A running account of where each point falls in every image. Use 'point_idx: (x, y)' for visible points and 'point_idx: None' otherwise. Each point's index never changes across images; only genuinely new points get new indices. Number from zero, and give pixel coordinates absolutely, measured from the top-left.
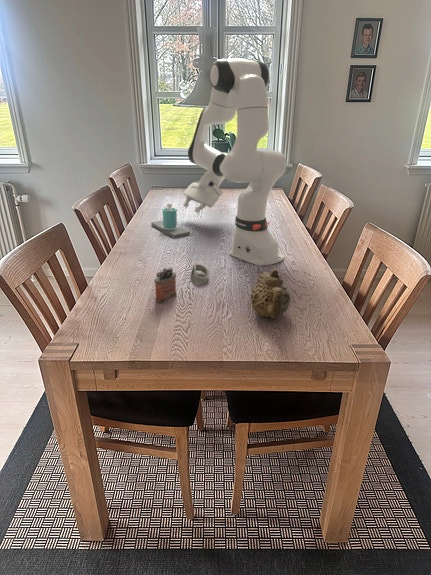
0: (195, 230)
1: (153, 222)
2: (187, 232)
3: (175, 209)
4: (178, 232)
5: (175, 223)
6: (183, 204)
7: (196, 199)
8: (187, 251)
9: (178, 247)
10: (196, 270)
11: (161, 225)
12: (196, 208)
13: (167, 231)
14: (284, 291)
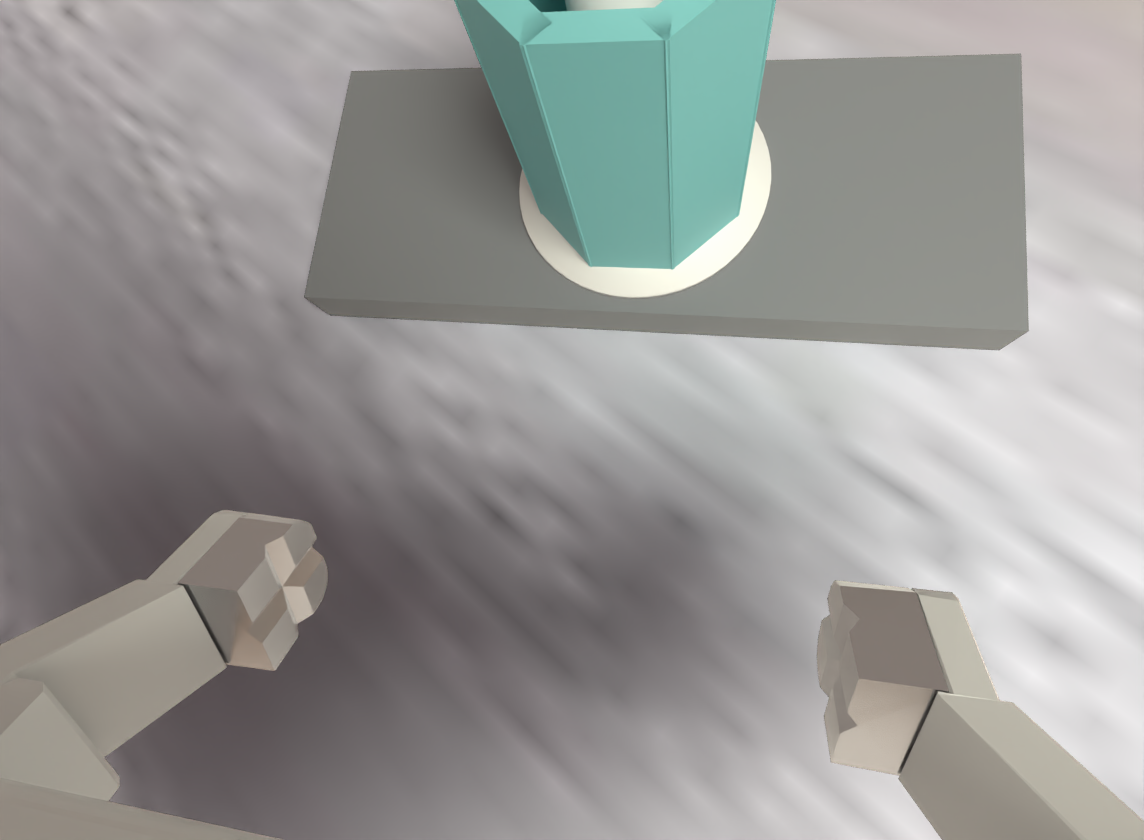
0: (408, 495)
1: (1000, 78)
2: (313, 262)
3: (504, 5)
4: (386, 161)
5: (524, 171)
6: (943, 596)
7: (242, 837)
8: (43, 40)
9: (164, 20)
10: None
11: (783, 113)
12: (226, 551)
13: None
14: None
